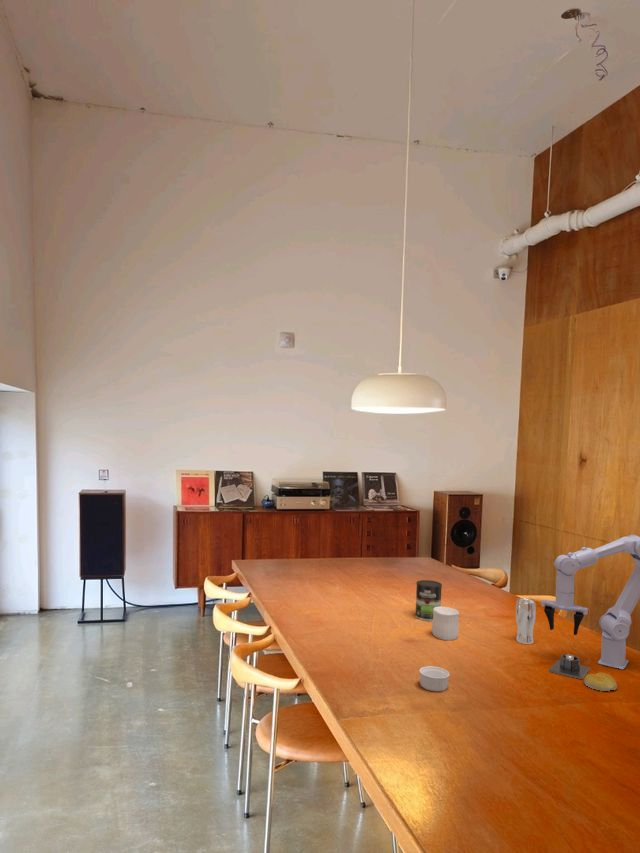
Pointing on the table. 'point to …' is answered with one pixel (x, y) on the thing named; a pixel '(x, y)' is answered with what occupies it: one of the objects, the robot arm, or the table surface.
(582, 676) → the square steel plate
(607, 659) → the robot arm
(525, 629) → the beer glass
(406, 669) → the table surface
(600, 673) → the bread roll
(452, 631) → the cup
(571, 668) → the ring
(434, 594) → the coffee can
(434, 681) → the ramekin
